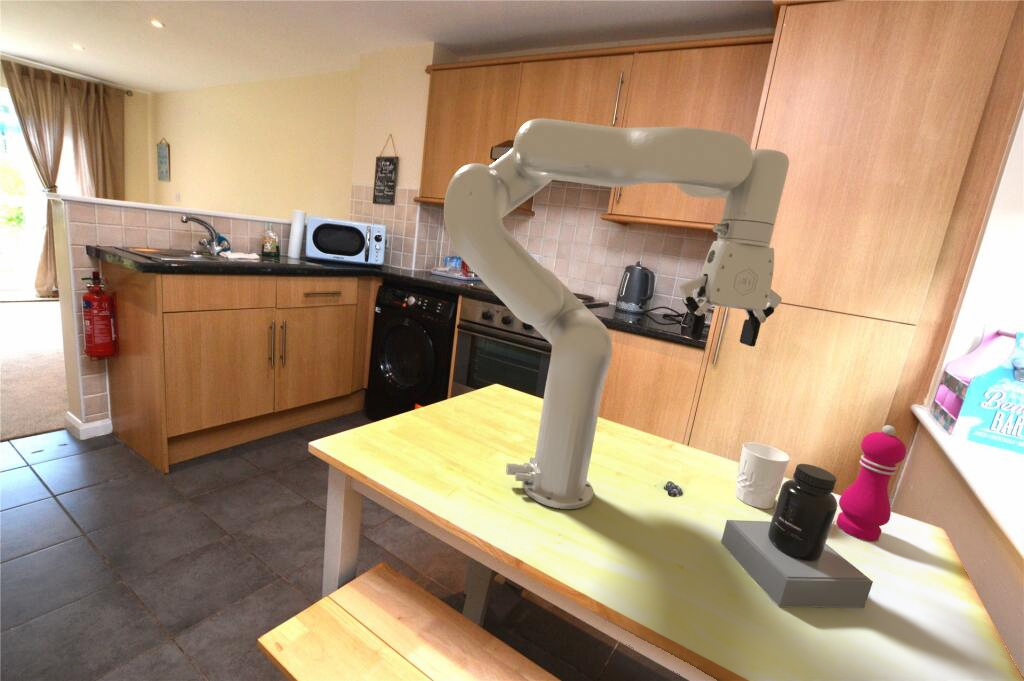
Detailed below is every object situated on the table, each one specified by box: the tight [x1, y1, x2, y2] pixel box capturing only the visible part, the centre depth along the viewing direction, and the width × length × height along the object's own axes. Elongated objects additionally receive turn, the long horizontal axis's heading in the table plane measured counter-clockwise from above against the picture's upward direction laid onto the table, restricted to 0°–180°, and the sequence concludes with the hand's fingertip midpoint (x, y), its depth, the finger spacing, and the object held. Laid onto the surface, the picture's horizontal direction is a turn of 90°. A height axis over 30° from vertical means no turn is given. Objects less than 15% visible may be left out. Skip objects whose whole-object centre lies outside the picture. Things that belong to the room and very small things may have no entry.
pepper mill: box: [836, 424, 907, 542], centre depth 79 cm, size 7×7×20 cm
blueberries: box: [654, 480, 684, 498], centre depth 87 cm, size 7×8×2 cm
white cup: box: [734, 441, 791, 510], centre depth 87 cm, size 8×8×10 cm
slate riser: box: [720, 519, 874, 608], centre depth 67 cm, size 13×13×4 cm
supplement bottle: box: [768, 463, 838, 561], centre depth 65 cm, size 7×7×12 cm
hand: (720, 341), depth 75 cm, fingers open, 9 cm apart
